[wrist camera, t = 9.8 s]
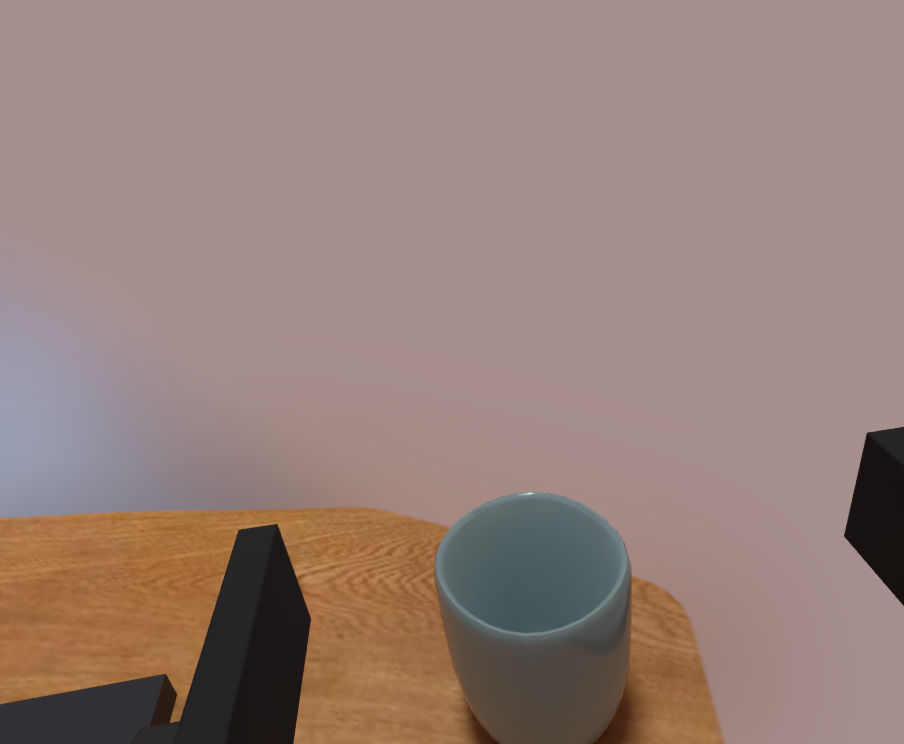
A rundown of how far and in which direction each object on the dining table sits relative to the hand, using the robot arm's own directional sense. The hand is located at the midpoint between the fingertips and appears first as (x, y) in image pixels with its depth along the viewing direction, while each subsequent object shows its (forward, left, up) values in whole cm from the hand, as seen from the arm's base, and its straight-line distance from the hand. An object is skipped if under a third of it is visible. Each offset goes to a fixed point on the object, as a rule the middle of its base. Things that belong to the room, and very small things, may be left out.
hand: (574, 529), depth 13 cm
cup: (+7, -6, -20) cm, 22 cm away
